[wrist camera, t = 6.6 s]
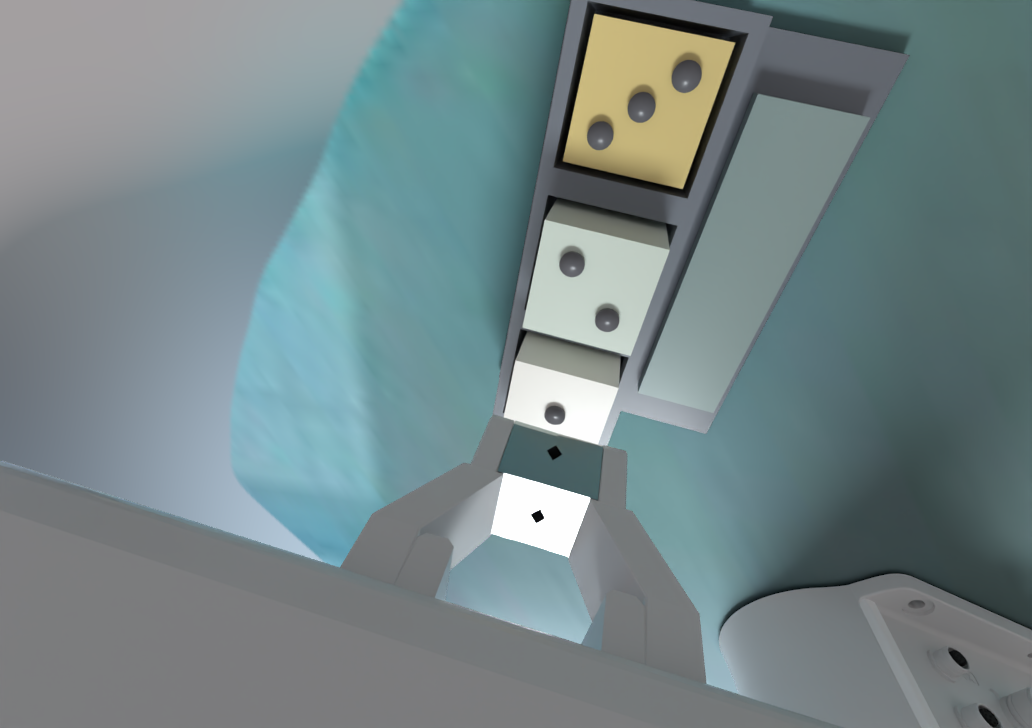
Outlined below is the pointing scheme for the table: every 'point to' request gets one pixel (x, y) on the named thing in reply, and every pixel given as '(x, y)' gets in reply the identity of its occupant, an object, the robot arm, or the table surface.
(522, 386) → the tile one
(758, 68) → the console
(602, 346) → the tile two
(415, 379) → the table surface
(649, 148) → the tile three
